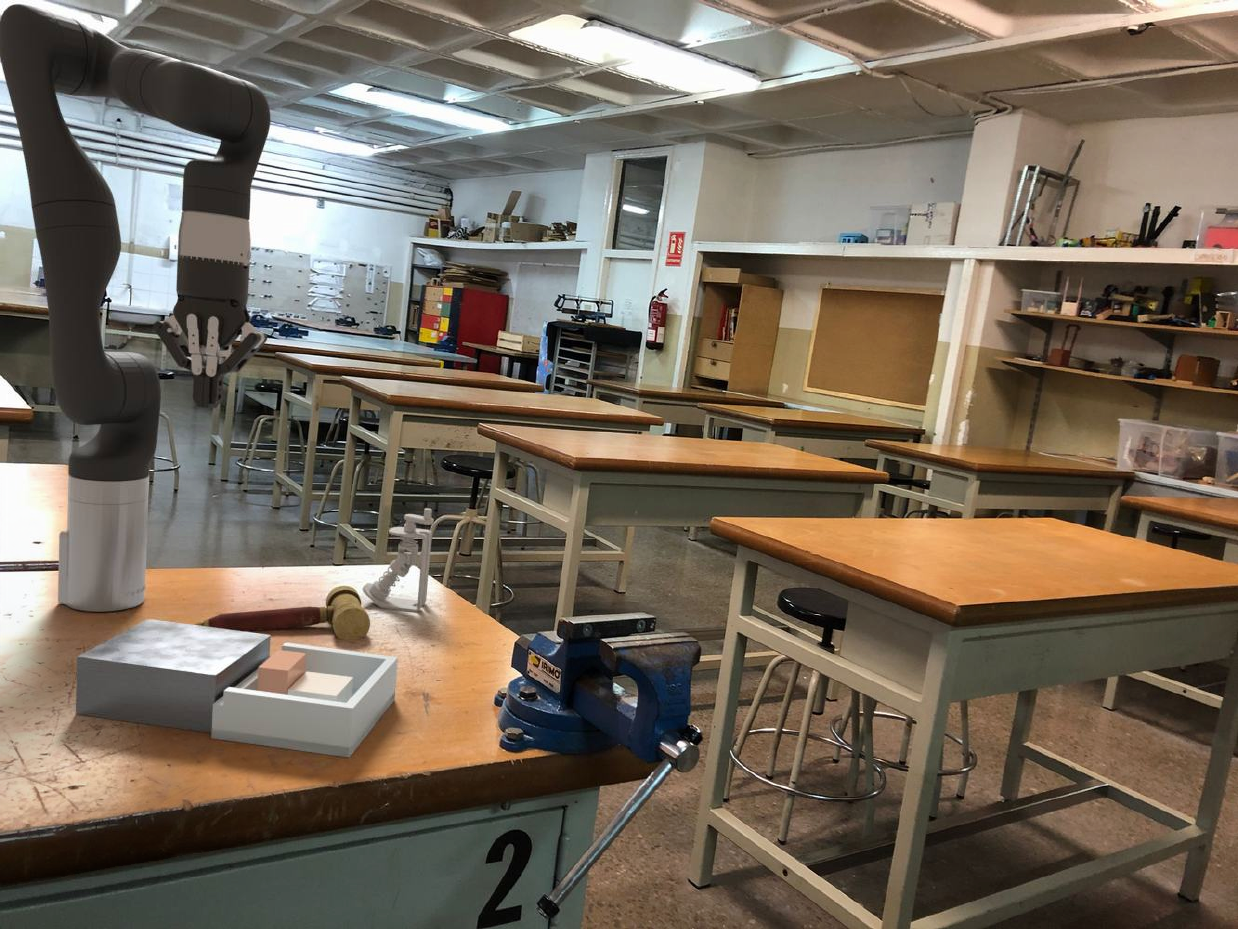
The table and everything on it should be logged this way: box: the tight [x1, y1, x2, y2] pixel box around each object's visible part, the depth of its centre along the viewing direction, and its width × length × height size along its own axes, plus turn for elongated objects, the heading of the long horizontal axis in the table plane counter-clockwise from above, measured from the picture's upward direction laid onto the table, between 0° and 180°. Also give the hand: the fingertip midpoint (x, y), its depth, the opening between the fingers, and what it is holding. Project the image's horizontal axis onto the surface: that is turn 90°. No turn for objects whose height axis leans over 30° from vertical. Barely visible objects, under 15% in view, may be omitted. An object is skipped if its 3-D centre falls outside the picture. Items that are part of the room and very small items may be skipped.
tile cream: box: [287, 672, 353, 703], centre depth 95 cm, size 5×5×3 cm
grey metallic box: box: [75, 618, 272, 734], centre depth 96 cm, size 14×12×6 cm
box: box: [210, 642, 399, 758], centre depth 95 cm, size 14×14×5 cm
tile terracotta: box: [257, 649, 306, 695], centre depth 95 cm, size 5×5×3 cm
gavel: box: [194, 585, 371, 640], centre depth 120 cm, size 21×5×10 cm
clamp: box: [362, 507, 434, 613], centre depth 133 cm, size 4×10×15 cm, turn 88°
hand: (207, 407), depth 107 cm, fingers closed
